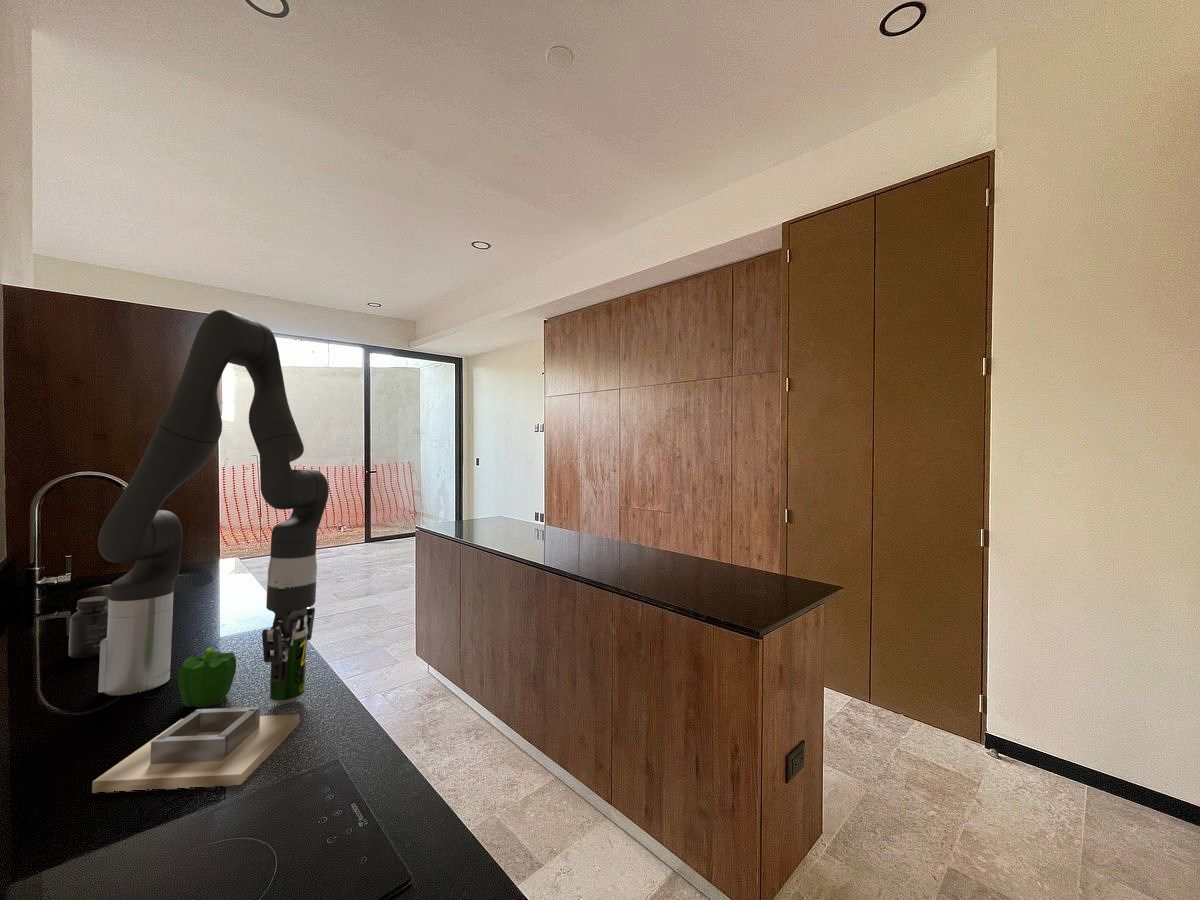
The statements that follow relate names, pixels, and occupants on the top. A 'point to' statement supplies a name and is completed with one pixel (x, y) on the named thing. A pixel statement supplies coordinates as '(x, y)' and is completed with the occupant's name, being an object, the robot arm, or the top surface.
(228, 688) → the bell pepper
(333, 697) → the top surface
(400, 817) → the top surface
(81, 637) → the supplement bottle
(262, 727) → the collar board
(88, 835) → the top surface
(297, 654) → the beer can
